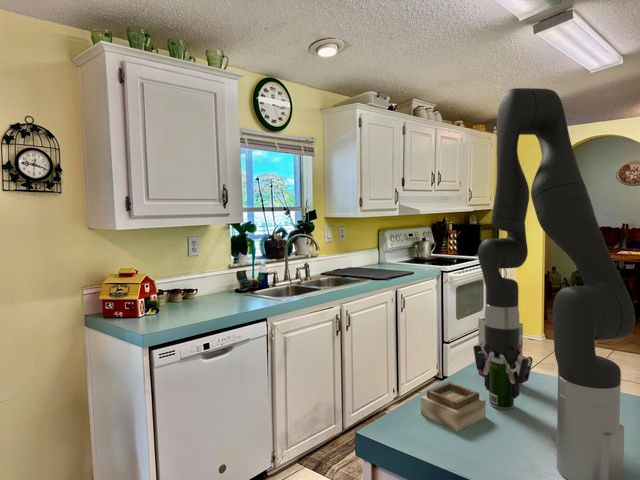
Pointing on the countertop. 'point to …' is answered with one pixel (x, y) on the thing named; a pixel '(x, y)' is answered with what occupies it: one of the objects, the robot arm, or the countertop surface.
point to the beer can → (499, 384)
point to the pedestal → (453, 406)
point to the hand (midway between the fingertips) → (501, 393)
